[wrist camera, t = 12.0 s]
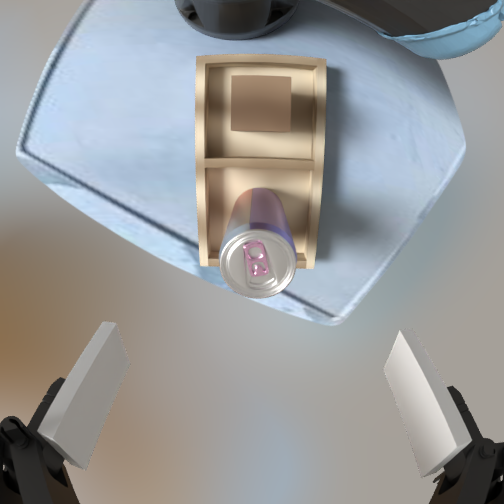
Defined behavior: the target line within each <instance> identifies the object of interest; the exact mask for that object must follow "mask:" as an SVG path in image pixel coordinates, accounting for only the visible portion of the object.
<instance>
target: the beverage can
mask: <svg viewBox="0 0 504 504" xmlns="http://www.w3.org/2000/svg"><path fill="white" fill-rule="evenodd" d="M219 264H220V271H221V275H222V277H223V279H224V281H225V282H226V284H227V285H228V286H229V287H230V288H231V289H232V290H233V291H235V292H236V293H238V294H240V295H242V296H245V297H249V298H267V297H271V296H274V295H276V294H278V293H279V292H281V291H282V290H284V289H285V288H286V287H287V286H288V285H289V284H290V282H291V281H292V279H293V277H294V274H295V271H296V264H297V252H296V248H295V244H294V241H293V238H292V234H291V231H290V228H289V224H288V221H287V218H286V215H285V212H284V208H283V205H282V202H281V200H280V199H279V197H278V196H277V195H276V194H275V193H273V192H272V191H270V190H268V189H265V188H252V189H249V190H247V191H245V192H243V193H242V194H241V195H240V196H239V197H238V198H237V200H236V202H235V204H234V207H233V210H232V214H231V217H230V220H229V223H228V226H227V229H226V232H225V235H224V238H223V241H222V244H221V247H220V251H219Z"/></svg>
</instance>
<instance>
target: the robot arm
mask: <svg viewBox="0 0 504 504" xmlns="http://www.w3.org/2000/svg"><path fill="white" fill-rule="evenodd" d="M316 1H318V2H320V3H323V4H325V5H327V6H329V7H332V8H334V9H336V10H338V11H340V12H342V13H344V14H346V15H348V16H350V17H352V18H354V19H356V20H358V21H360V22H362V23H363V24H365V25H367V26H369V27H371V28H372V29H374V30H376V32H377V33H378V34H379V35H381V36H383V37H385V38H387V39H391V40H394V41H396V42H397V43H399V44H401V45H402V46H404V47H405V48H407V49H409V50H410V51H412V52H413V53H415V54H417V55H419V56H422V57H425V58H433V59H440V60H441V59H450V58H456V57H459V56H463V55H465V54H468V53H470V52H472V51H474V50H476V49H478V48H479V47H481V46H483V45H484V44H486V43H487V42H488V41H490V40H491V39H492V38H493V37H494V36H495V35H496V34H497V33H498V32H499V30H500V29H501V28H502V24H501V21H503V20H504V0H316ZM298 2H299V0H175V4H176V7H177V9H178V11H179V13H180V14H181V16H182V17H183V18H184V20H185V21H186V22H187V23H188V24H189V25H190V26H191V27H192V28H194V29H195V30H197V31H199V32H200V33H203V34H205V35H208V36H211V37H214V38H219V39H227V40H241V39H249V38H254V37H258V36H262V35H265V34H267V33H270V32H272V31H274V30H276V29H277V28H279V27H280V26H282V25H283V24H284V23H285V22H287V21H288V20H289V19H290V17H291V16H292V15H293V13H294V12H295V10H296V8H297V5H298ZM129 366H130V361H129V359H128V356H127V353H126V350H125V347H124V344H123V341H122V338H121V335H120V332H119V329H118V326H117V324H116V323H112V322H103V323H102V324H101V325H100V327H99V328H98V330H97V331H96V333H95V334H94V336H93V337H92V339H91V340H90V342H89V343H88V345H87V346H86V348H85V350H84V351H83V353H82V354H81V356H80V357H79V359H78V361H77V362H76V364H75V365H74V367H73V369H72V370H71V372H70V374H69V375H68V377H67V378H66V379H63V378H61V377H60V378H59V379H57V381H55V382H54V383H53V384H52V385H51V386H50V388H49V390H48V391H47V394H46V395H45V396H44V398H43V401H42V402H41V403H40V405H39V406H38V408H37V410H36V412H35V414H34V415H33V417H32V419H31V421H30V423H29V424H28V426H27V427H26V426H25V425H24V424H23V423H22V422H21V420H20V419H19V418H17V417H15V416H8V417H6V418H4V419H3V421H2V422H1V423H0V504H80V503H79V501H78V499H77V496H76V494H75V491H74V489H73V486H72V484H71V481H70V478H69V476H68V473H67V470H66V467H65V466H64V464H63V462H64V459H66V460H67V461H68V462H69V463H70V464H71V465H74V466H76V467H78V468H81V469H83V470H86V469H87V467H88V464H89V461H90V458H91V456H92V453H93V451H94V448H95V445H96V443H97V440H98V438H99V435H100V433H101V430H102V428H103V426H104V423H105V420H106V418H107V416H108V414H109V411H110V409H111V406H112V404H113V402H114V399H115V397H116V395H117V393H118V390H119V388H120V386H121V384H122V381H123V379H124V377H125V375H126V373H127V370H128V368H129ZM383 371H384V373H385V376H386V378H387V381H388V383H389V386H390V388H391V391H392V393H393V396H394V399H395V401H396V404H397V407H398V409H399V412H400V415H401V417H402V420H403V423H404V426H405V428H406V432H407V434H408V437H409V440H410V443H411V446H412V449H413V453H414V456H415V458H416V462H417V465H418V469H419V472H420V475H421V478H422V477H425V476H428V475H431V474H433V473H436V472H437V471H438V470H440V469H441V468H442V467H444V470H445V471H444V472H443V473H441V474H440V475H439V476H437V477H436V478H435V479H434V481H433V483H435V482H436V481H438V480H439V479H440V480H439V482H438V483H437V484H438V485H437V487H436V489H435V492H434V494H433V496H432V499H431V500H430V502H429V504H504V442H503V443H494V442H493V441H492V440H491V439H488V438H483V437H482V435H481V433H480V431H479V429H478V427H477V425H476V423H475V421H474V419H473V417H472V415H471V413H470V411H469V410H468V407H467V405H466V404H465V401H464V399H463V397H462V395H461V393H460V392H459V391H458V390H457V389H455V388H454V387H453V386H450V387H446V385H445V383H444V382H443V380H442V378H441V376H440V374H439V372H438V371H437V369H436V367H435V366H434V364H433V362H432V360H431V358H430V357H429V355H428V353H427V352H426V350H425V348H424V346H423V345H422V343H421V341H420V340H419V338H418V336H417V335H416V333H415V331H414V330H413V329H404V330H400V331H399V333H398V336H397V339H396V341H395V343H394V346H393V348H392V351H391V353H390V356H389V358H388V360H387V362H386V365H385V367H384V369H383ZM3 465H5V468H4V470H3ZM502 475H503V480H502V481H501V480H500V476H502Z"/></svg>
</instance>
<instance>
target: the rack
mask: <svg viewBox="0 0 504 504" xmlns="http://www.w3.org/2000/svg"><path fill="white" fill-rule="evenodd" d="M231 75H265V76H287V77H291V126H290V132H246V131H231ZM325 124H326V59H322V58H313V57H303V56H291V55H274V54H222V55H205V56H196V89H195V159H196V195H197V218H198V237H199V253H200V266H219V267H220V264H219V251H220V247H221V244H222V241H223V238H224V235H225V232H226V229H227V226H228V223H229V220H230V217H231V214H232V210H233V207H234V204H235V202H236V200H237V198H238V197H239V196H240V195H241V194H242V193H243V192H245V191H247V190H249V189H252V188H265V189H268V190H270V191H272V192H273V193H275V194H276V195H277V196H278V197H279V199H280V200H281V202H282V205H283V208H284V212H285V215H286V218H287V221H288V224H289V228H290V231H291V234H292V238H293V241H294V244H295V248H296V252H297V264H296V268H304V269H314V264H315V255H316V246H317V237H318V227H319V217H320V206H321V193H322V180H323V165H324V147H325Z"/></svg>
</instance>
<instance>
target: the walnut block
mask: <svg viewBox="0 0 504 504" xmlns="http://www.w3.org/2000/svg"><path fill="white" fill-rule="evenodd" d="M290 126H291V77H287V76H265V75H231V131H246V132H290Z"/></svg>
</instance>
